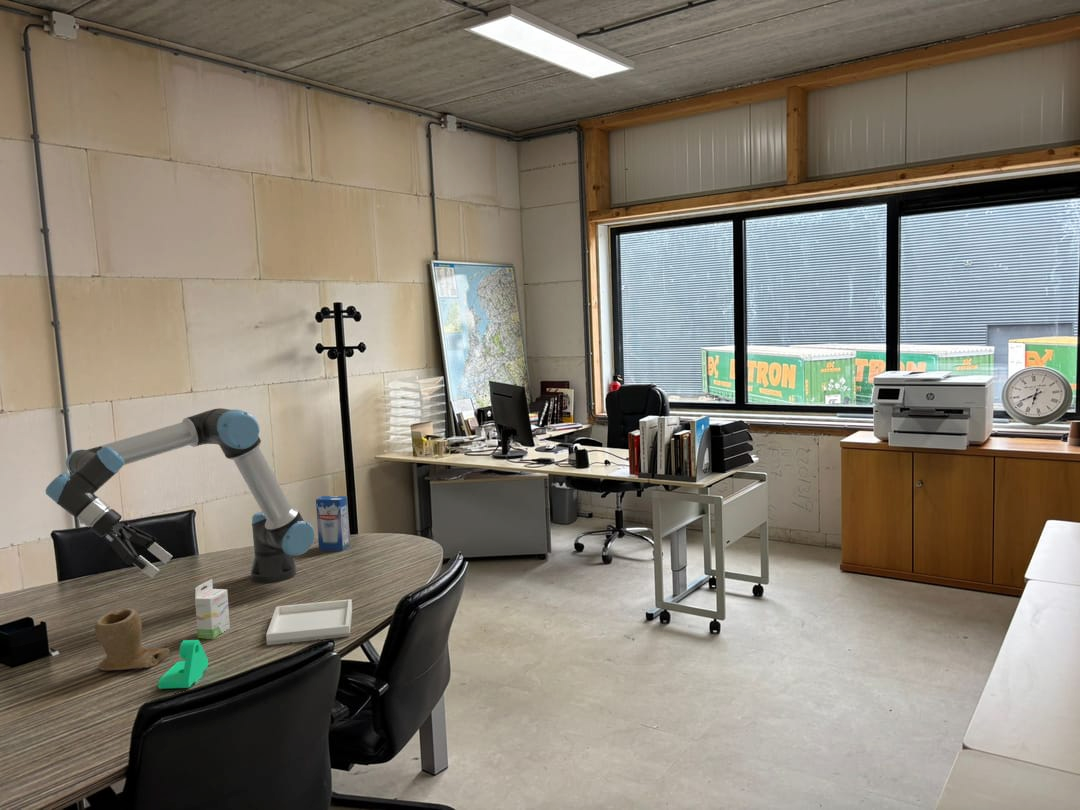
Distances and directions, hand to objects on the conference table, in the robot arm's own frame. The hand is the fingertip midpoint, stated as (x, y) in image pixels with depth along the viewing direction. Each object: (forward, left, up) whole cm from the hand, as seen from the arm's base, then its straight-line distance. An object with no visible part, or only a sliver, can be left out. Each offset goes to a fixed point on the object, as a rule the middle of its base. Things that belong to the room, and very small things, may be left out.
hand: (162, 567), depth 222 cm
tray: (+3, +39, -20) cm, 44 cm away
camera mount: (+31, +11, -21) cm, 39 cm away
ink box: (+1, +12, -20) cm, 24 cm away
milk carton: (-78, +41, -20) cm, 90 cm away
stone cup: (+19, -5, -20) cm, 28 cm away
